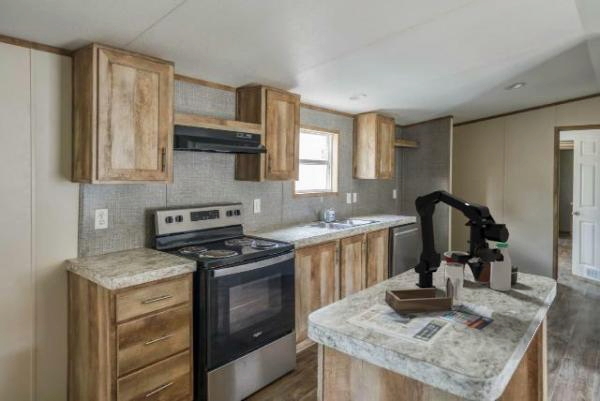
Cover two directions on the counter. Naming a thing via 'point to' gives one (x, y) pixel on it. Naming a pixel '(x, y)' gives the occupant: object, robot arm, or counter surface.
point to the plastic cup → (448, 257)
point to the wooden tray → (417, 301)
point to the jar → (514, 274)
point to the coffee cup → (485, 275)
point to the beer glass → (454, 282)
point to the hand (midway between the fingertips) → (476, 279)
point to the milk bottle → (501, 270)
